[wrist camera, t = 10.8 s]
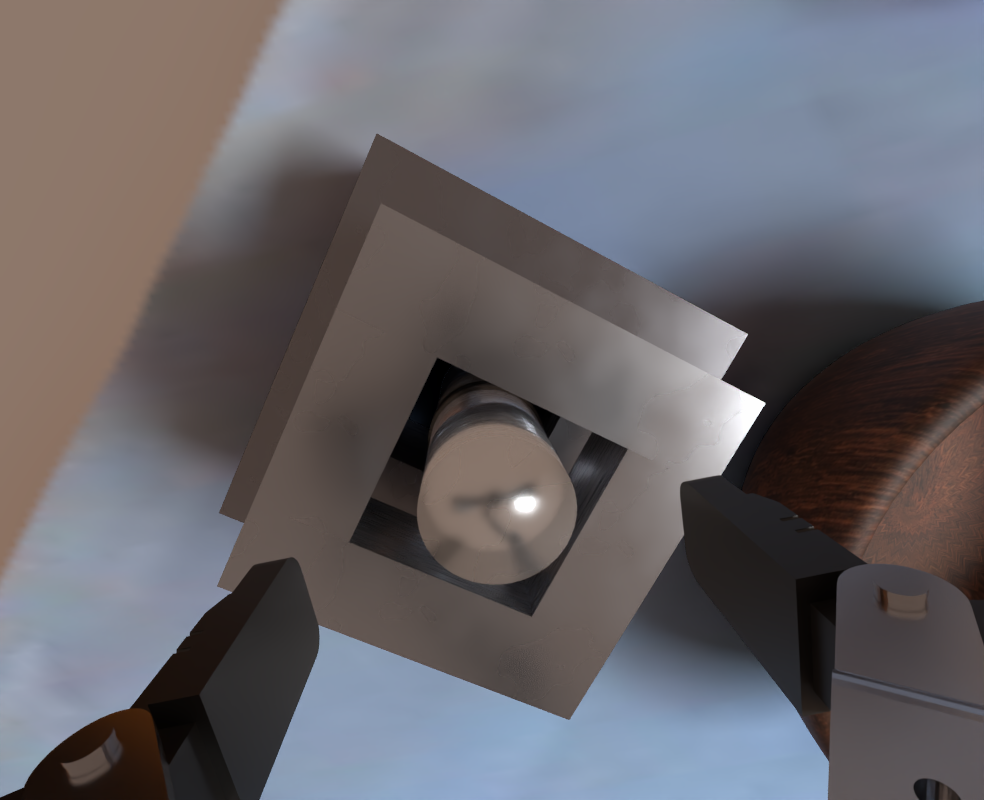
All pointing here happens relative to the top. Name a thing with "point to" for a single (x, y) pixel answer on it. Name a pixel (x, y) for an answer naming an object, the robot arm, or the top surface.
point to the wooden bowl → (890, 454)
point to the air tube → (492, 485)
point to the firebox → (513, 367)
